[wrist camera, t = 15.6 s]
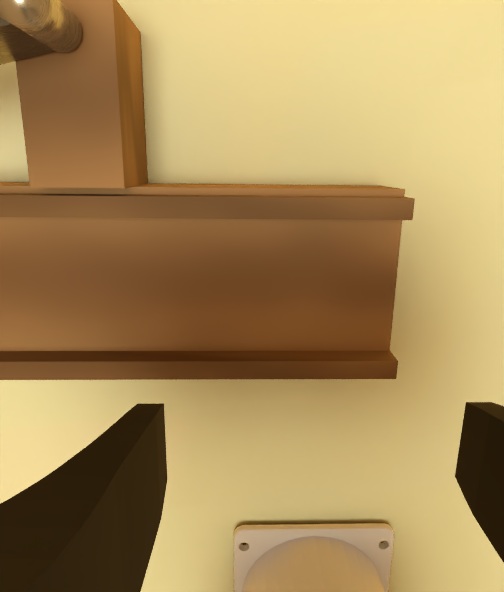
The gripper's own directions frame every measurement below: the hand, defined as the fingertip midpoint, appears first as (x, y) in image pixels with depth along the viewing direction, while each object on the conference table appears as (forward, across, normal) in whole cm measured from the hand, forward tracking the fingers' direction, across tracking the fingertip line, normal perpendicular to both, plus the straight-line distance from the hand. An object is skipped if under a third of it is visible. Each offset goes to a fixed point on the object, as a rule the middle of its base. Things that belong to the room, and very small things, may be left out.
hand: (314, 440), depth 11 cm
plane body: (+10, +4, -5) cm, 12 cm away
